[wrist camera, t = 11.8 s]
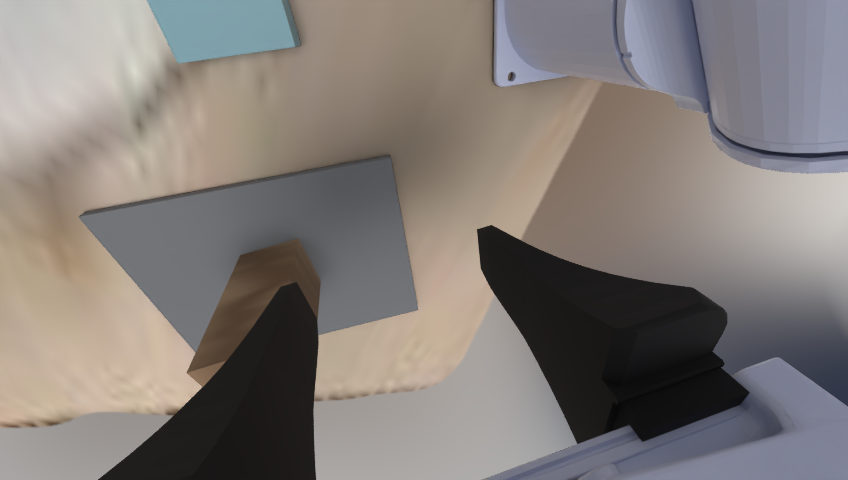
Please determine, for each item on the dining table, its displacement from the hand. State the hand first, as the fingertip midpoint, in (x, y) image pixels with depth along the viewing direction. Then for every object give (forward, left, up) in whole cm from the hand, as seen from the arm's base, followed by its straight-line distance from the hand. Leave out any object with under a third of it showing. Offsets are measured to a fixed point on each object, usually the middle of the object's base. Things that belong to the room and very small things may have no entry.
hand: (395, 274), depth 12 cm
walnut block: (+8, +5, -10) cm, 13 cm away
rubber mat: (+8, +6, -10) cm, 14 cm away
